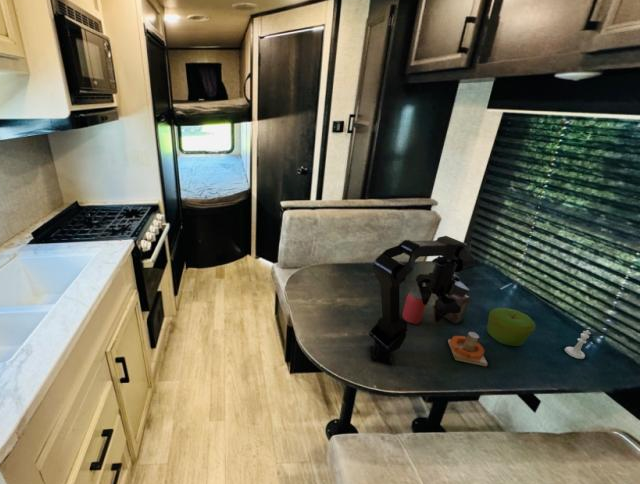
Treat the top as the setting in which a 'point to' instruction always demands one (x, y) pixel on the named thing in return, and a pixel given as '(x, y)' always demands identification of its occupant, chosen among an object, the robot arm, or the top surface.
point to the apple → (509, 326)
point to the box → (463, 303)
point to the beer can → (413, 307)
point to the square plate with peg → (469, 349)
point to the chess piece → (578, 346)
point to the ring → (463, 352)
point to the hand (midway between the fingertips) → (430, 312)
